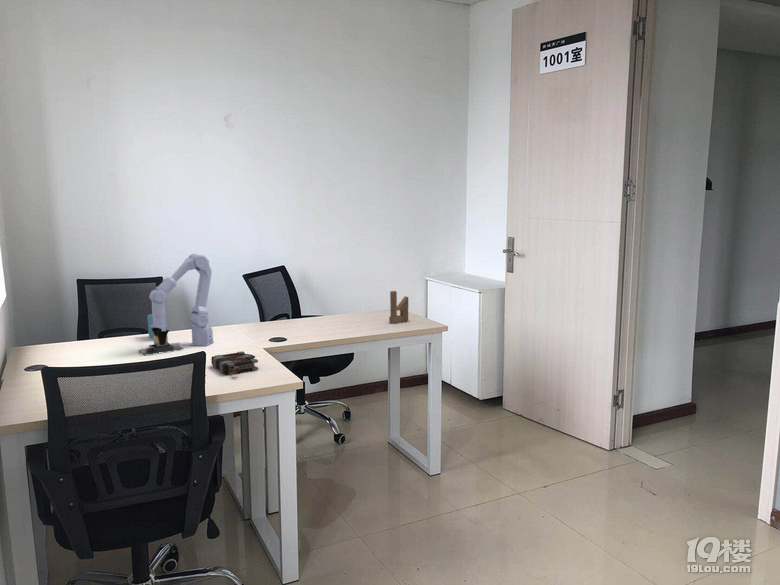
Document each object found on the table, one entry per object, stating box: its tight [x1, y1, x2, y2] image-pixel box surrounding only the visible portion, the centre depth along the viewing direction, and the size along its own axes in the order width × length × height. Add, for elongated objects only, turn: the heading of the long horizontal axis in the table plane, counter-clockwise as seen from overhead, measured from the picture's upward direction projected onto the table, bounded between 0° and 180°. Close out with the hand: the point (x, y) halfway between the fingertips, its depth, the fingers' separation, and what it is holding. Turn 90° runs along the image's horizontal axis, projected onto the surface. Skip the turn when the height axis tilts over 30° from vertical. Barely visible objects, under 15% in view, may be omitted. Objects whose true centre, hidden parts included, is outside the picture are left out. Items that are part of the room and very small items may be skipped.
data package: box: [146, 313, 155, 340], centre depth 328 cm, size 12×4×12 cm, turn 40°
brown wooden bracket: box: [388, 290, 409, 324], centre depth 360 cm, size 4×11×18 cm, turn 122°
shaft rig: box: [137, 342, 184, 356], centre depth 304 cm, size 18×10×2 cm, turn 125°
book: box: [210, 350, 259, 376], centre depth 270 cm, size 15×25×5 cm, turn 33°
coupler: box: [153, 334, 169, 348], centre depth 303 cm, size 5×5×6 cm
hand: (160, 343), depth 303 cm, fingers closed on coupler, 5 cm apart
